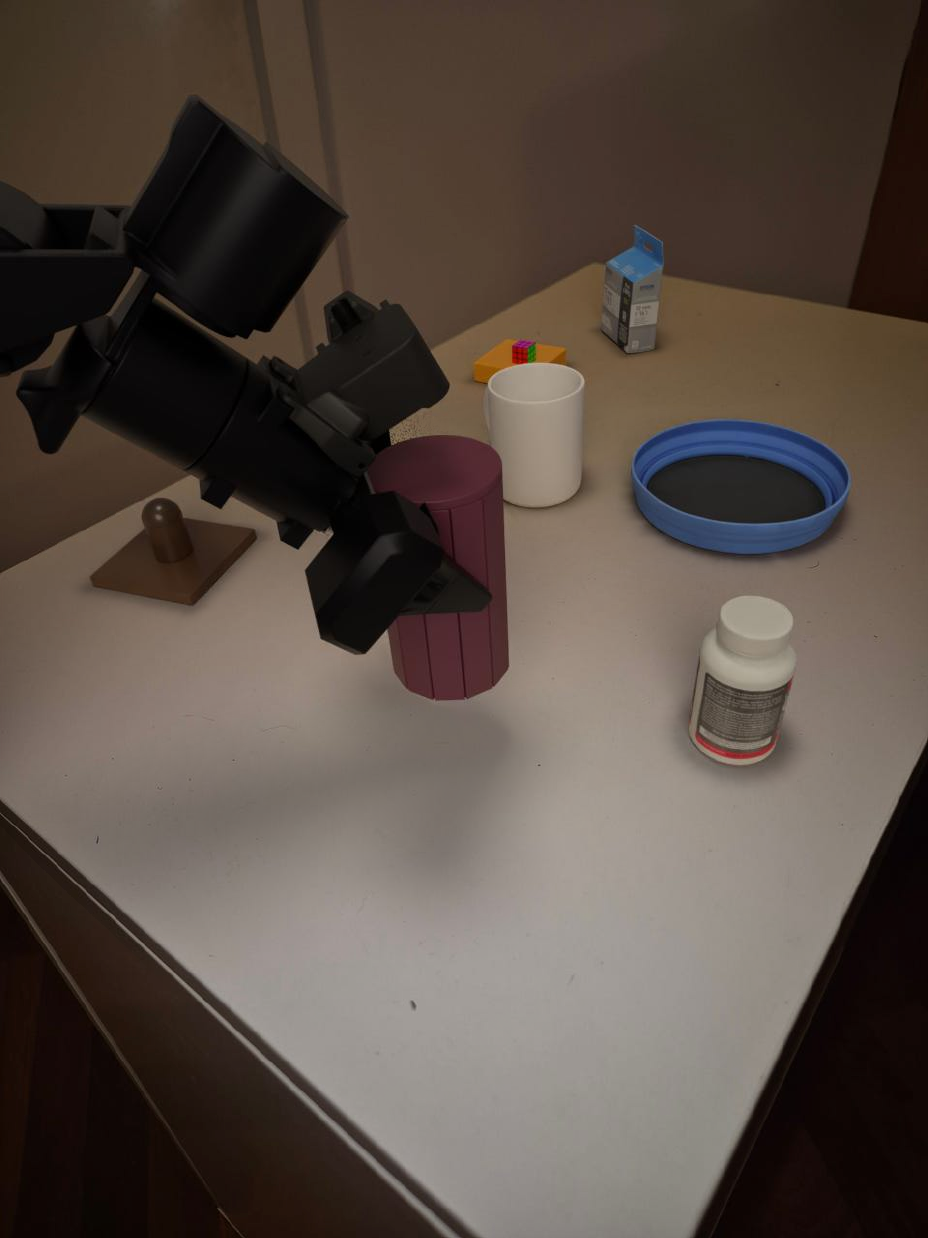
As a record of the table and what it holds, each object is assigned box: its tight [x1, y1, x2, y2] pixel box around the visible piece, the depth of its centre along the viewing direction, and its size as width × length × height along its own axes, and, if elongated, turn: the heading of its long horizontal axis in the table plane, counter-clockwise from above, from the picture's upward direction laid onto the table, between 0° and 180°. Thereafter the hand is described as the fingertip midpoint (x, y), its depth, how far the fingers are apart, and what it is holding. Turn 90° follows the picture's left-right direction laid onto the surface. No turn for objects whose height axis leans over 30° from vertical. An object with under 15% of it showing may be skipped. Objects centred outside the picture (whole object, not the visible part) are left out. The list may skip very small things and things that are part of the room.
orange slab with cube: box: [472, 338, 567, 384], centre depth 96 cm, size 8×8×4 cm
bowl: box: [630, 418, 852, 555], centre depth 72 cm, size 18×18×4 cm
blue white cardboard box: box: [600, 224, 665, 354], centre depth 100 cm, size 9×4×12 cm, turn 14°
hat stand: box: [89, 497, 258, 606], centre depth 70 cm, size 10×10×6 cm
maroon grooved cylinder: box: [367, 434, 510, 702], centre depth 45 cm, size 7×7×13 cm
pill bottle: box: [688, 595, 798, 766], centre depth 50 cm, size 5×5×10 cm
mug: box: [482, 363, 586, 509], centre depth 76 cm, size 12×8×10 cm
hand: (467, 564), depth 46 cm, fingers closed on maroon grooved cylinder, 7 cm apart
